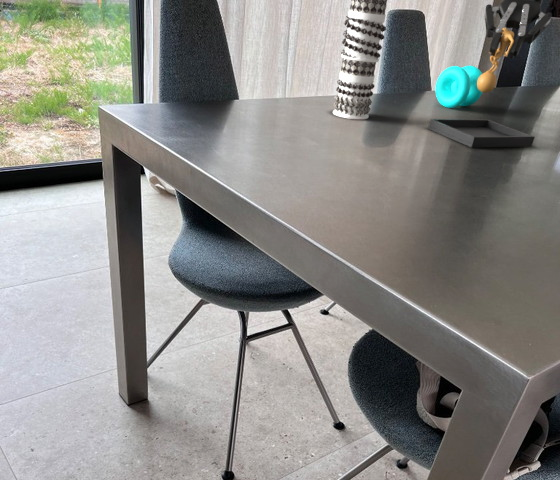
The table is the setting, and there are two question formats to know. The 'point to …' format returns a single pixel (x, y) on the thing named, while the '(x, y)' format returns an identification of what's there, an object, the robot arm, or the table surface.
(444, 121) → the base pad
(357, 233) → the table surface
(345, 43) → the decorative candle
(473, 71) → the donuts
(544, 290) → the table surface
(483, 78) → the figurine
